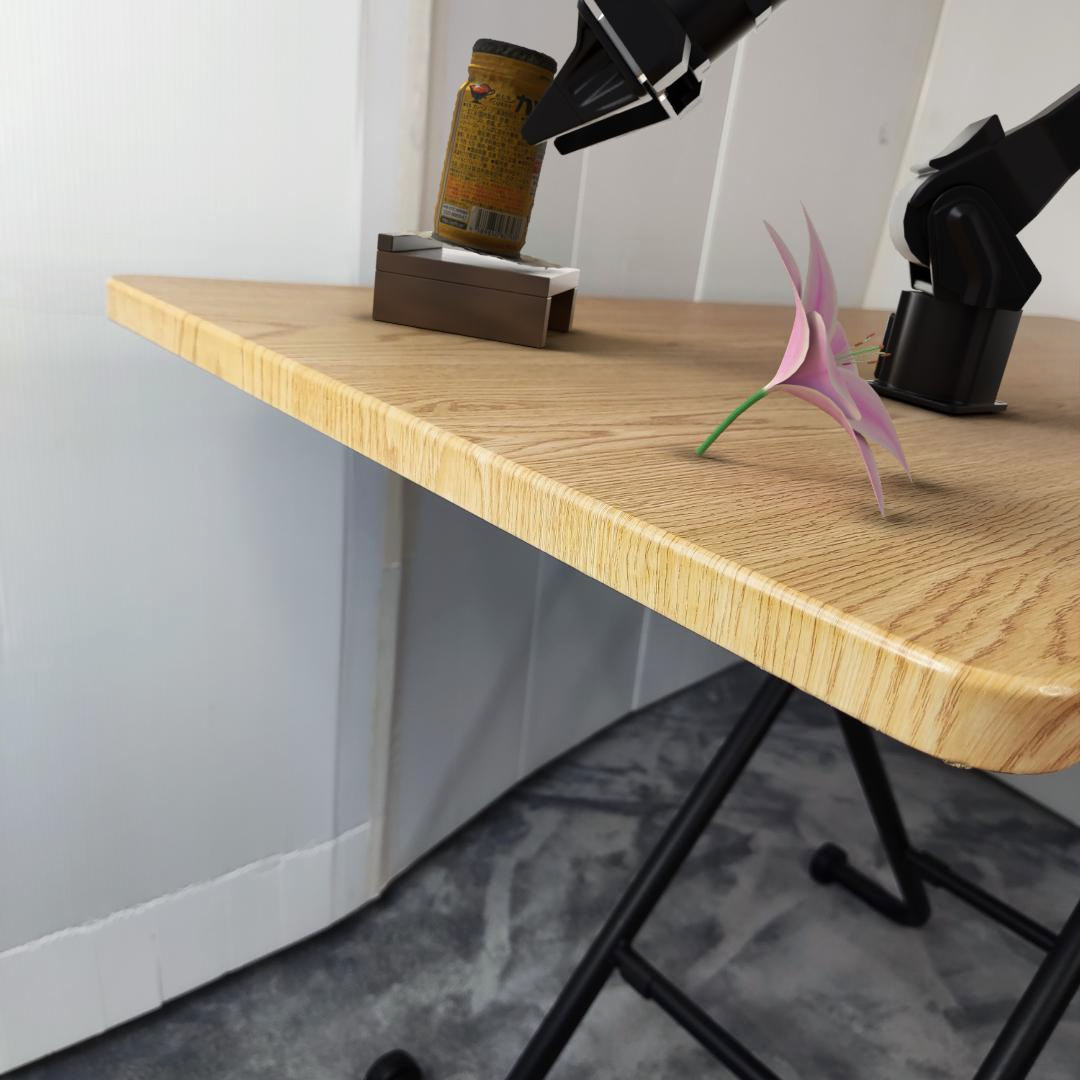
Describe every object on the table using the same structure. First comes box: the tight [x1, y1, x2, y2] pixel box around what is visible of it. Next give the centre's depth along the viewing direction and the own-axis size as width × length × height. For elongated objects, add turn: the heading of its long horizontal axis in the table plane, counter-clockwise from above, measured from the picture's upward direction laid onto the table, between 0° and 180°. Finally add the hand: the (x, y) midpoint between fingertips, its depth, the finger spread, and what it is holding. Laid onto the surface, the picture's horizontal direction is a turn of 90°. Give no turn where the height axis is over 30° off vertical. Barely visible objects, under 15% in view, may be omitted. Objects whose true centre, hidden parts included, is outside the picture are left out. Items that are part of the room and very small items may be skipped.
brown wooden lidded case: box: [371, 230, 581, 349], centre depth 62 cm, size 11×10×5 cm
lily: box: [695, 199, 913, 518], centre depth 36 cm, size 12×12×10 cm
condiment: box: [400, 37, 567, 270], centre depth 59 cm, size 7×8×12 cm
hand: (542, 144), depth 59 cm, fingers open, 9 cm apart
